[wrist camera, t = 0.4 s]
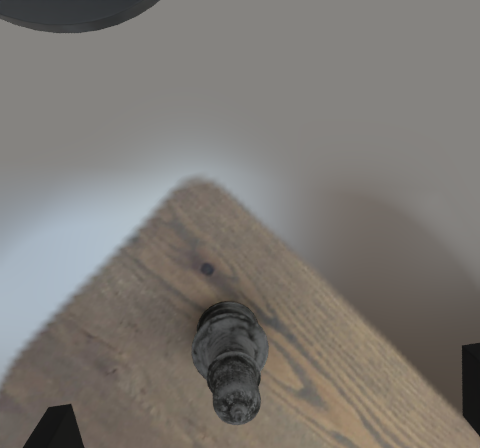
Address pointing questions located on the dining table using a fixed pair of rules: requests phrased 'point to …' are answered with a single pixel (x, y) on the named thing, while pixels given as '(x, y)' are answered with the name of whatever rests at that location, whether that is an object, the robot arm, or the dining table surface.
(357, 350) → the dining table surface
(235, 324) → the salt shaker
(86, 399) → the dining table surface
